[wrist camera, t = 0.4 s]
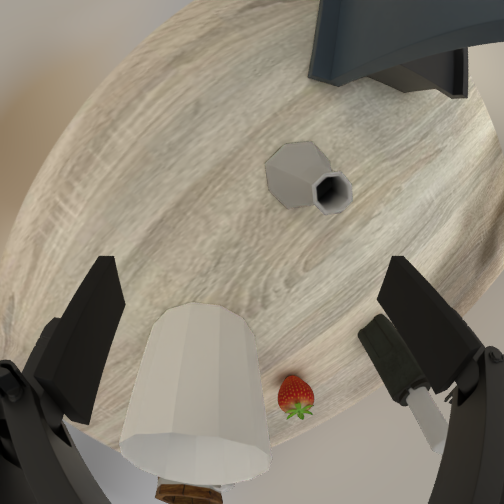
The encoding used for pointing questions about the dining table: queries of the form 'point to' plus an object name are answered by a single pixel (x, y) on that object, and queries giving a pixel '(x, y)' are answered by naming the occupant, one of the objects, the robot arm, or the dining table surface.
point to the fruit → (295, 397)
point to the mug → (190, 492)
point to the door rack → (403, 41)
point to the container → (198, 400)
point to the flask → (307, 179)
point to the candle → (404, 378)
